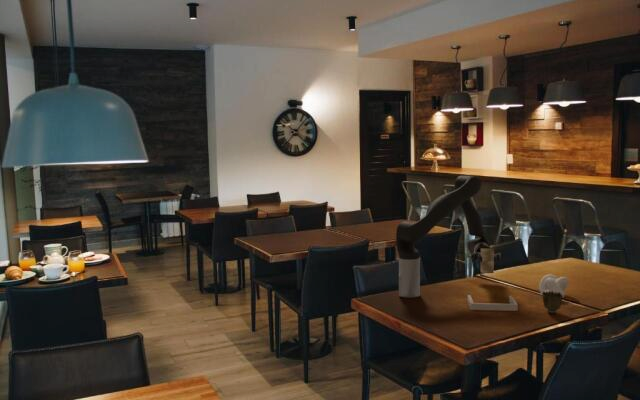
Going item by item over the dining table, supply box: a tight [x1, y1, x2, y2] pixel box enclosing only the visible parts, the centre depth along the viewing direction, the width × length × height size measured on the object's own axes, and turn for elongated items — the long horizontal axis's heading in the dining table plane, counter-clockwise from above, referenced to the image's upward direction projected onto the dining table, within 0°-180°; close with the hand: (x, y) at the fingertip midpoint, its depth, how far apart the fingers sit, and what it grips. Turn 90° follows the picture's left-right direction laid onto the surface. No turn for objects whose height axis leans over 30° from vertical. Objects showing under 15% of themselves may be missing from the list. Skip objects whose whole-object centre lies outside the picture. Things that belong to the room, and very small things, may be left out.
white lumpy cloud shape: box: [538, 273, 569, 299], centre depth 252 cm, size 11×12×9 cm
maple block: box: [479, 248, 495, 274], centre depth 253 cm, size 5×5×10 cm
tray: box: [467, 294, 519, 312], centre depth 240 cm, size 18×13×2 cm
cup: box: [541, 291, 563, 315], centre depth 228 cm, size 8×7×8 cm
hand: (488, 259), depth 250 cm, fingers closed on maple block, 5 cm apart
